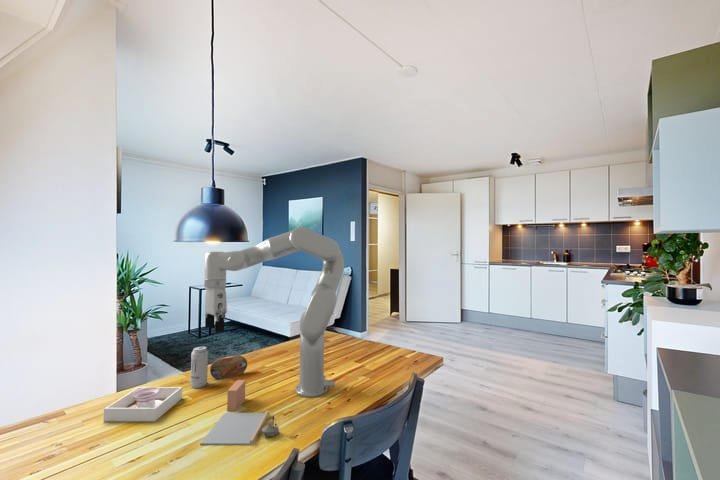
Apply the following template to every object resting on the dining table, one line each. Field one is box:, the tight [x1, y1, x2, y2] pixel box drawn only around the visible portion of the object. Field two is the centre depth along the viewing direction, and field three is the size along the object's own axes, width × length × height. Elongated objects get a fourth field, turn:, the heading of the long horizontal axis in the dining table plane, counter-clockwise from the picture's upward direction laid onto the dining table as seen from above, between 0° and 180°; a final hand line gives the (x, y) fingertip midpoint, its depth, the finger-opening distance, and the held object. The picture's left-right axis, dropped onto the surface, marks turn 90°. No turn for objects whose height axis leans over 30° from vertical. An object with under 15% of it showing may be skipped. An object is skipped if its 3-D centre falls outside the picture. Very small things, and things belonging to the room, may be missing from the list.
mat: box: [200, 410, 270, 446], centre depth 99 cm, size 15×17×1 cm
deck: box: [226, 379, 246, 412], centre depth 114 cm, size 3×9×7 cm, turn 1°
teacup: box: [128, 386, 163, 408], centre depth 110 cm, size 12×12×6 cm
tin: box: [209, 354, 248, 380], centre depth 140 cm, size 15×3×8 cm, turn 122°
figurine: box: [261, 415, 280, 439], centre depth 96 cm, size 5×4×6 cm
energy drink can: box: [190, 346, 209, 389], centre depth 130 cm, size 6×6×15 cm
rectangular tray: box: [103, 386, 183, 422], centre depth 110 cm, size 16×16×4 cm
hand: (214, 329), depth 121 cm, fingers open, 9 cm apart
